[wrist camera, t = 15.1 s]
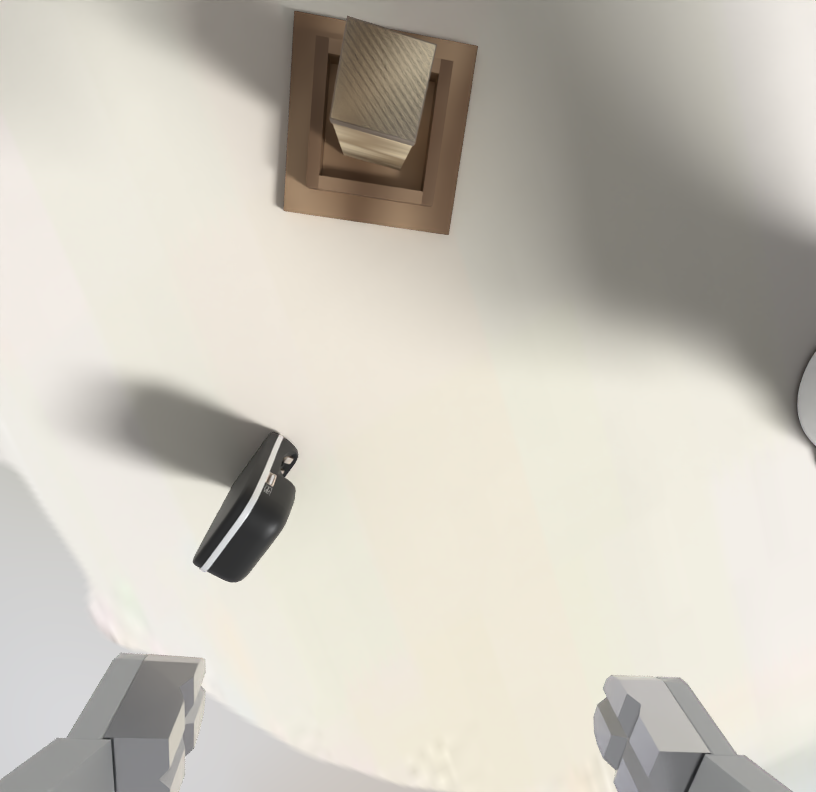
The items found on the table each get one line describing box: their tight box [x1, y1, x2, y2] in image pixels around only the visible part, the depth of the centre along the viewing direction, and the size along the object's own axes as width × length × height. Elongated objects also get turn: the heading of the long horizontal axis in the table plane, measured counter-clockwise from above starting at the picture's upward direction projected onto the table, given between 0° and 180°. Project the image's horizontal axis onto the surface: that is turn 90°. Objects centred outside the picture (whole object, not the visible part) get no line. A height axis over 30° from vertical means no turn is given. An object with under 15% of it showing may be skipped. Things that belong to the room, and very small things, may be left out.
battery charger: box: [193, 432, 298, 582], centre depth 37 cm, size 7×4×11 cm, turn 143°
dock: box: [284, 11, 478, 235], centre depth 33 cm, size 12×12×3 cm
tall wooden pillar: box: [329, 16, 437, 170], centre depth 28 cm, size 4×4×12 cm
